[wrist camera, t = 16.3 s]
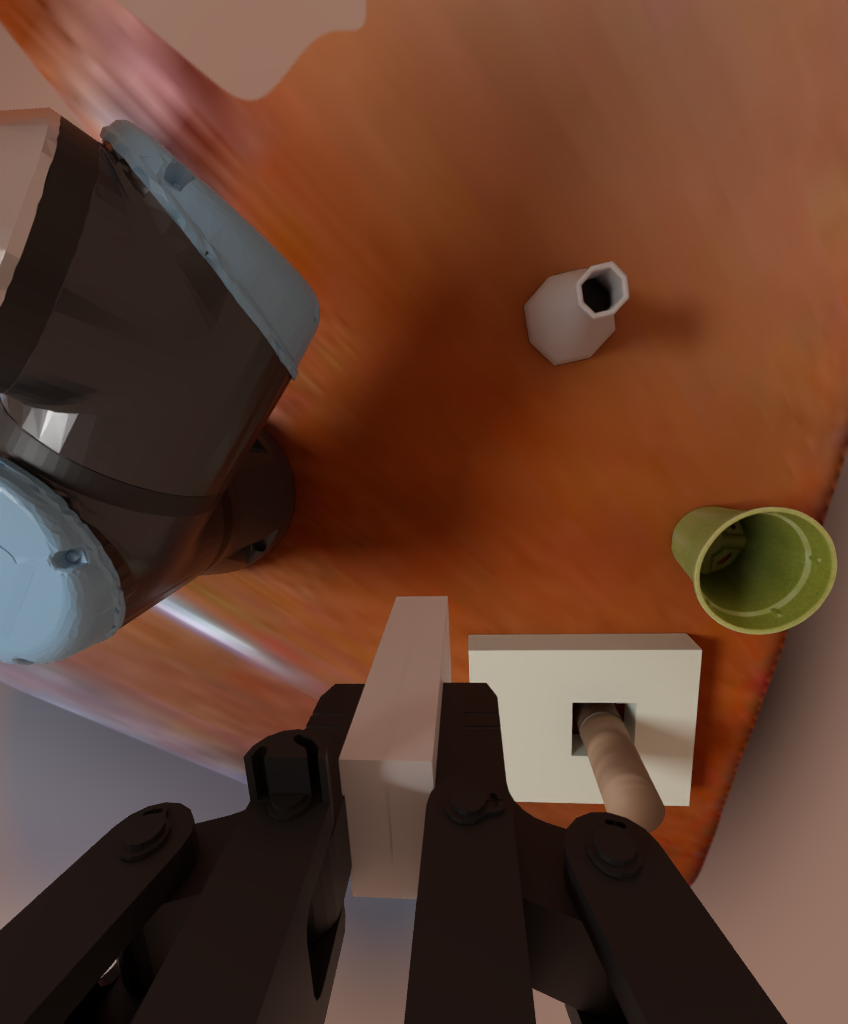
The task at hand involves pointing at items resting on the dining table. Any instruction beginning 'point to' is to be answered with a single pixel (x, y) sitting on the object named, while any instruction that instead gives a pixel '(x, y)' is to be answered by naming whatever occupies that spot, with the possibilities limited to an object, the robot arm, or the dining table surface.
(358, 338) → the dining table surface
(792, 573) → the plant pot
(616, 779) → the peg
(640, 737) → the board
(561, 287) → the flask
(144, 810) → the robot arm
